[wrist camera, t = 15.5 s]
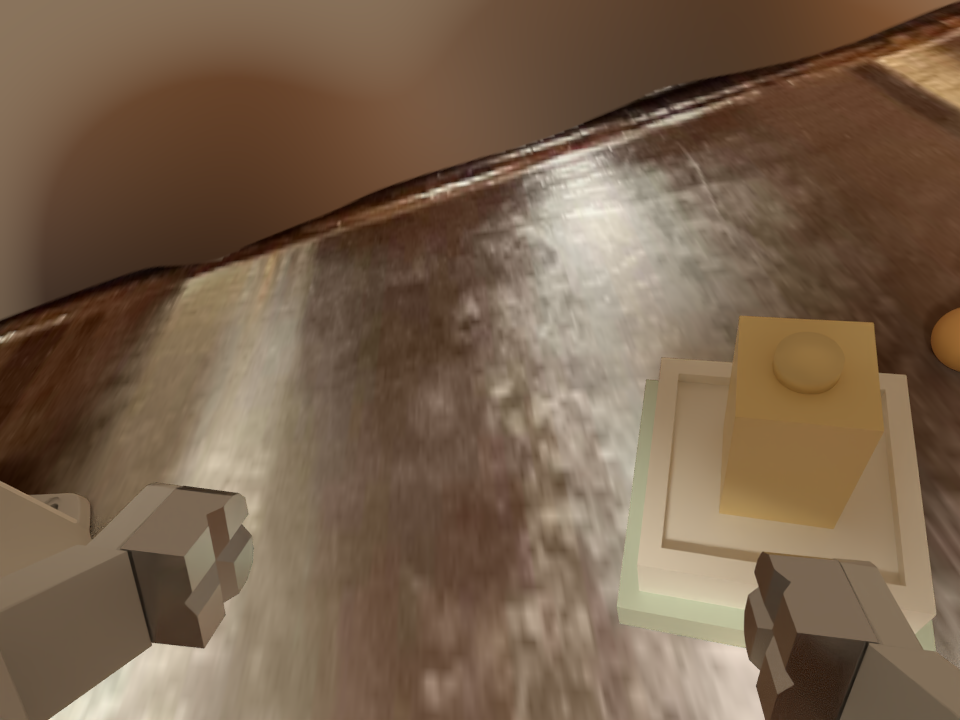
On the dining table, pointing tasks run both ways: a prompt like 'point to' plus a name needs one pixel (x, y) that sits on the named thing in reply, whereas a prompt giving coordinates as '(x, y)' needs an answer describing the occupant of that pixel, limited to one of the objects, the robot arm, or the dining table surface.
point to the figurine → (947, 339)
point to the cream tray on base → (740, 540)
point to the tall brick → (799, 418)
